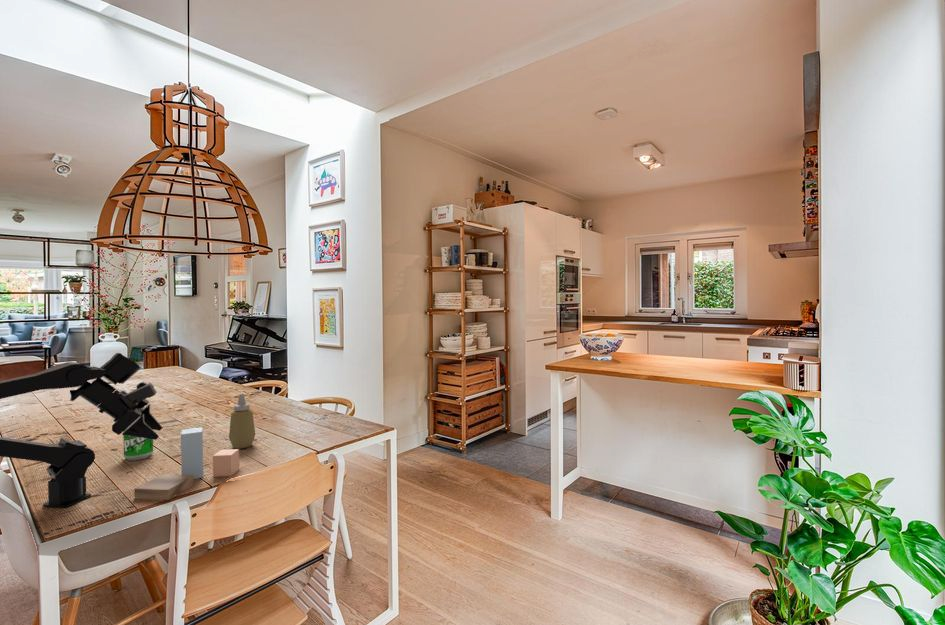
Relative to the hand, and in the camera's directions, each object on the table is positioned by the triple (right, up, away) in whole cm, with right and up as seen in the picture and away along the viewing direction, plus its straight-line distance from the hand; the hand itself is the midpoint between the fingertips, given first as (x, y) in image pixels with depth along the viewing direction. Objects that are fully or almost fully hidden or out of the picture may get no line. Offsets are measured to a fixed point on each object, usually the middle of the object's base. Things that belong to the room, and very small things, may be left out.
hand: (159, 433), depth 119 cm
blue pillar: (+6, -13, +4) cm, 15 cm away
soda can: (-21, -13, +19) cm, 31 cm away
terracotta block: (+15, -13, +7) cm, 21 cm away
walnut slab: (+6, -14, -6) cm, 16 cm away
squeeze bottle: (+7, -13, +29) cm, 33 cm away
